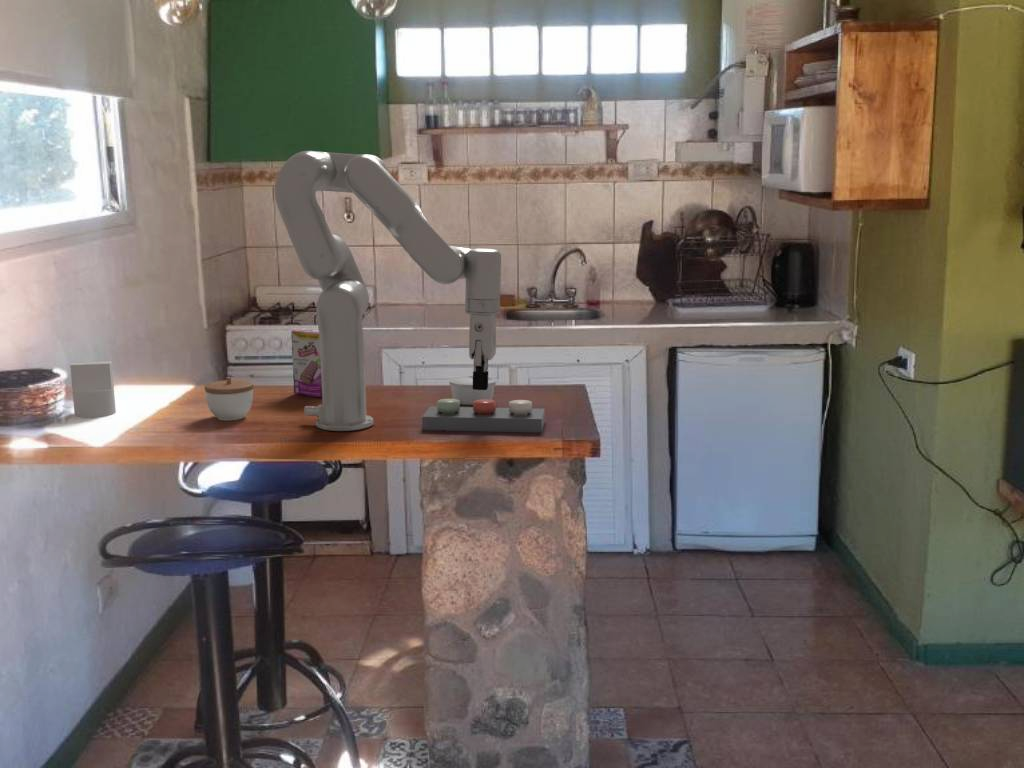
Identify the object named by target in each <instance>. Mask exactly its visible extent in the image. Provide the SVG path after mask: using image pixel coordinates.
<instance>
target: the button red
mask: <svg viewBox="0 0 1024 768" xmlns="http://www.w3.org/2000/svg"><path fill="white" fill-rule="evenodd" d="M496 404H497V403H496V400H494V399H492V400H489V399H481V400H475V401H473V405H472V407H473V411H474V412H476V413H478V415H491V413H492V412H495V411H496V408H497V405H496Z"/></svg>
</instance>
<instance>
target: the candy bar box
mask: <svg viewBox="0 0 1024 768" xmlns="http://www.w3.org/2000/svg"><path fill="white" fill-rule="evenodd" d="M290 331H291V333H290V334H291V335H290V336H291V351H292V352H291V356H292V357H291V358H292V372H293V373H292V377H293V393H294V395H301V396H306V397H312V398H319V399H322V380H321V357H320V339H319V329H315V328H314V329H313V328H305V327H303V328H298V329H293V330H290Z"/></svg>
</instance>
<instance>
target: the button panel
mask: <svg viewBox="0 0 1024 768" xmlns="http://www.w3.org/2000/svg"><path fill="white" fill-rule="evenodd" d="M545 419H546V409H545V408H536V407H535V408H533V407H532V412H531V413H527V416H524V415H514V413H510V412H509V407H496V411H495V412H492V413H491V415H478V413H476V412H474V411H473V406H472V407H471V406H460V410H459V411H457V412H455V414H442V412H439V411H437V406H434V405H433V406H429V407H428V409H427V410H426V411H425V413H424V414H423V415H422V417H421V422H422V427H421V428H422V431H442V430H445V431H446V432H451V431H453V432H496V433H497V432H498V433H507V432H508V433H542V432H543V429H544V426H545V423H546V420H545Z"/></svg>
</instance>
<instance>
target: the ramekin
mask: <svg viewBox="0 0 1024 768" xmlns="http://www.w3.org/2000/svg"><path fill="white" fill-rule="evenodd" d="M496 385H497V381H496V379H494V378H492V377H488V388H487V390H474V389H473V375H472V376H471V375H470V376H469V375H466V376H457V377H453V378H451V379H450V380H449V386H450V390H451V396H452V399H457V400H459V401H460V405H468V406H473V401H475V400H481V399H489V400H493V398H494V392H495V386H496Z"/></svg>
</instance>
